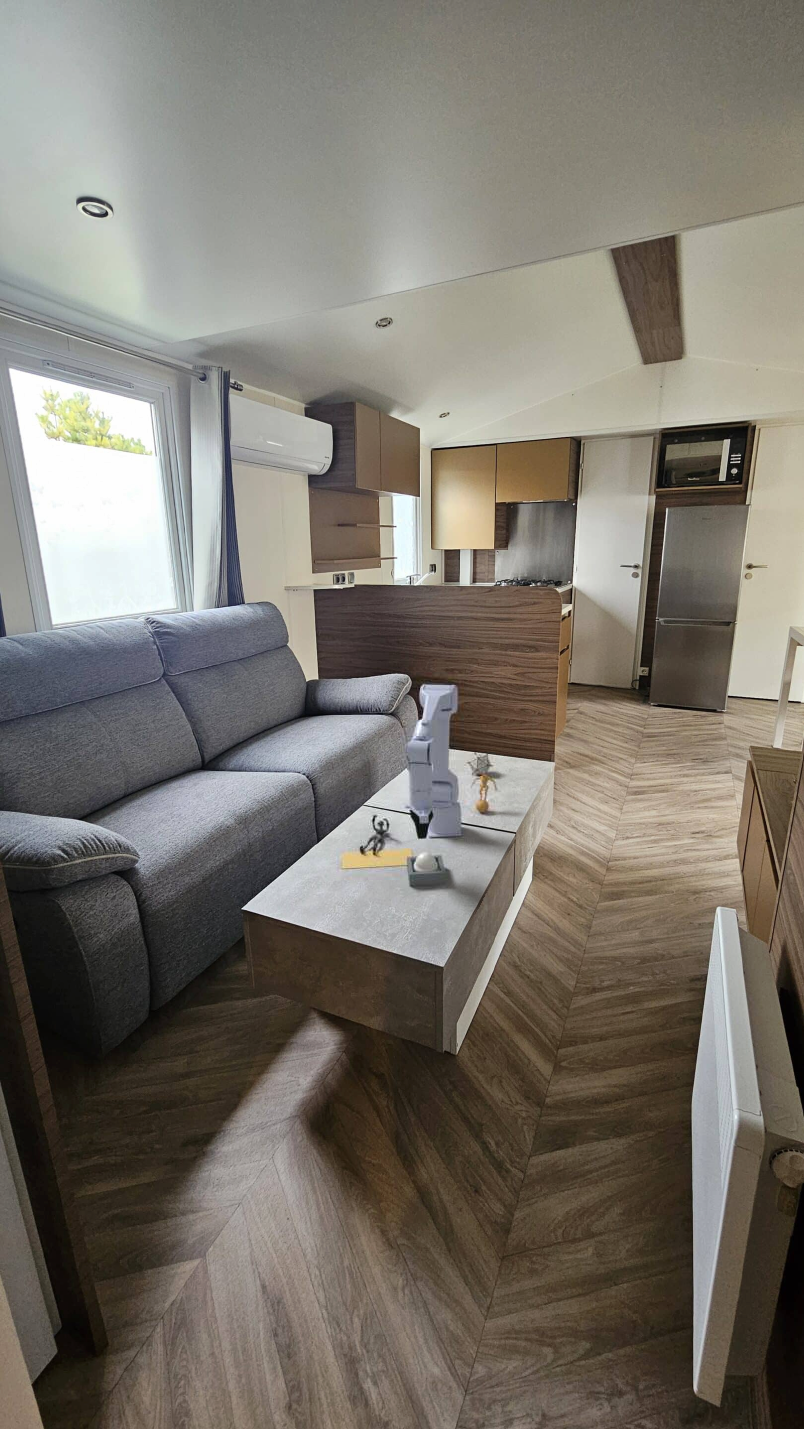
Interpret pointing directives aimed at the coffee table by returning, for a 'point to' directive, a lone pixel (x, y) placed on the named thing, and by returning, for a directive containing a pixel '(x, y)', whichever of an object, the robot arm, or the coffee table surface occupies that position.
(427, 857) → the popper dome
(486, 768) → the grey spiky lattice polyhedron
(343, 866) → the yellow rectangular panel
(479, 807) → the figurine
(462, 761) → the coffee table surface
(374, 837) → the zombie figurine
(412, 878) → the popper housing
